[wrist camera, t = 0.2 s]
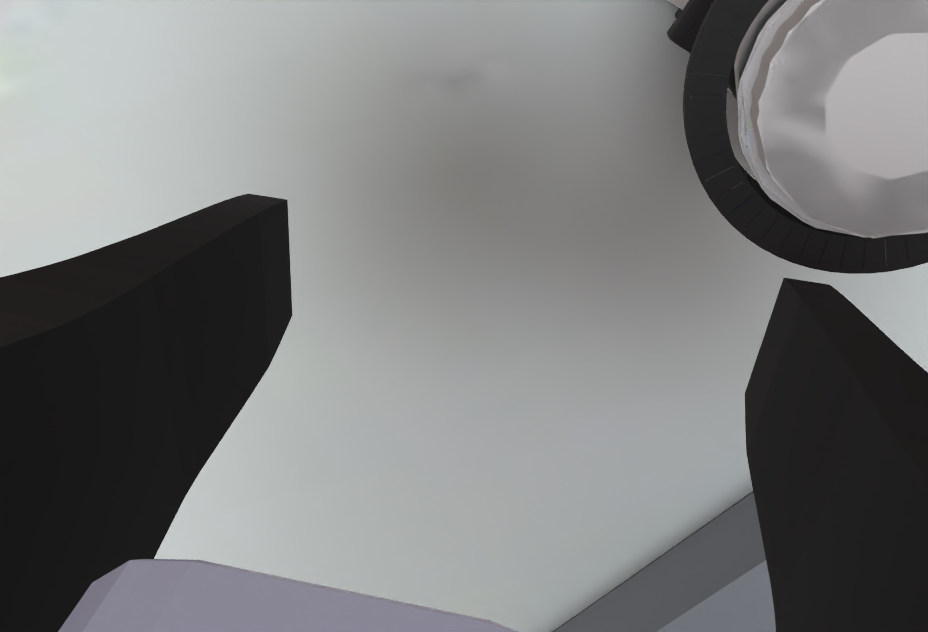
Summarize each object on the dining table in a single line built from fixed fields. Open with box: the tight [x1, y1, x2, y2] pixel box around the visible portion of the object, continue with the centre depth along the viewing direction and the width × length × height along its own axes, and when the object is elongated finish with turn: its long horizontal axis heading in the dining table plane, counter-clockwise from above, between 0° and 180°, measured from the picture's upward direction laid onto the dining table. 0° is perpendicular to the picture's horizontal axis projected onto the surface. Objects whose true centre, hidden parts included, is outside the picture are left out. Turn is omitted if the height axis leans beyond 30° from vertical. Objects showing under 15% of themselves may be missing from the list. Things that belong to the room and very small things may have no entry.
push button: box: [667, 0, 928, 273], centre depth 15 cm, size 7×5×10 cm
